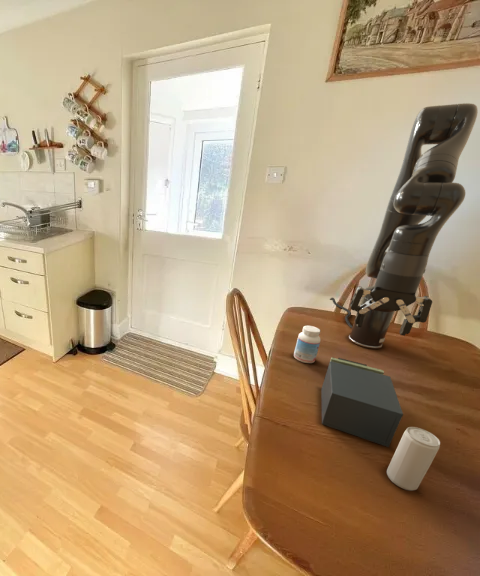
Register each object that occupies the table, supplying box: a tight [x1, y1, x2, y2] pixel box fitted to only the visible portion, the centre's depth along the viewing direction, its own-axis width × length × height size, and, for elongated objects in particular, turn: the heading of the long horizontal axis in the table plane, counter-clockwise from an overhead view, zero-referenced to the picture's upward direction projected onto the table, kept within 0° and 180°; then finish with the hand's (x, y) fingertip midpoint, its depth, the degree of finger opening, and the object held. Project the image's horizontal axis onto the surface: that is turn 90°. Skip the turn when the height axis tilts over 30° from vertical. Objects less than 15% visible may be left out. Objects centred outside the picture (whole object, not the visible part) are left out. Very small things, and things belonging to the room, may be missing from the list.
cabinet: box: [320, 360, 404, 448], centre depth 78 cm, size 16×13×10 cm
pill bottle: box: [293, 325, 322, 364], centre depth 102 cm, size 6×6×11 cm
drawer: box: [329, 357, 385, 375], centre depth 84 cm, size 20×11×8 cm, turn 146°
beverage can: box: [386, 426, 441, 491], centre depth 61 cm, size 5×5×12 cm
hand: (379, 329), depth 80 cm, fingers open, 8 cm apart
